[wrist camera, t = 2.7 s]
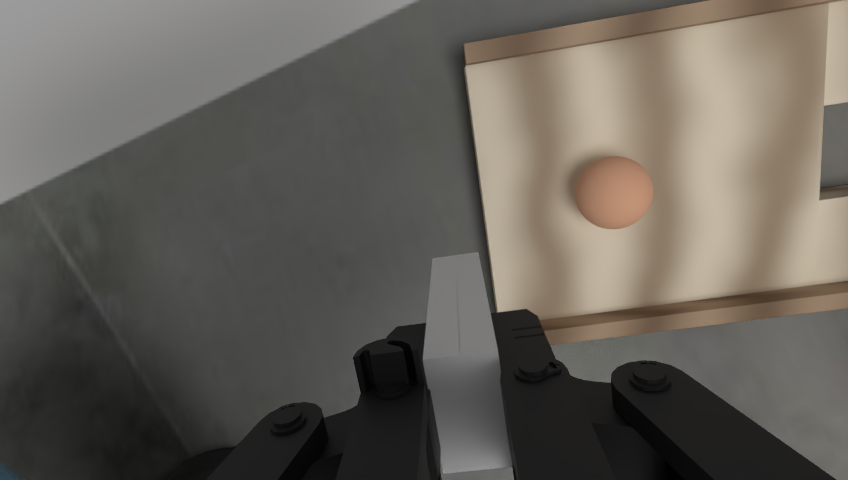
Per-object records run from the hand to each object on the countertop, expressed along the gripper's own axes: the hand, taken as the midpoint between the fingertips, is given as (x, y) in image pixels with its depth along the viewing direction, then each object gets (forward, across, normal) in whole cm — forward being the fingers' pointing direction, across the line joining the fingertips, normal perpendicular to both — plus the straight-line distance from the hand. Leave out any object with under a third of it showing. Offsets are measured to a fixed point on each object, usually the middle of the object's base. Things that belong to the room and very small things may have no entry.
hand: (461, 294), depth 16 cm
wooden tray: (+17, +17, 0) cm, 24 cm away
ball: (+12, +9, 0) cm, 15 cm away
